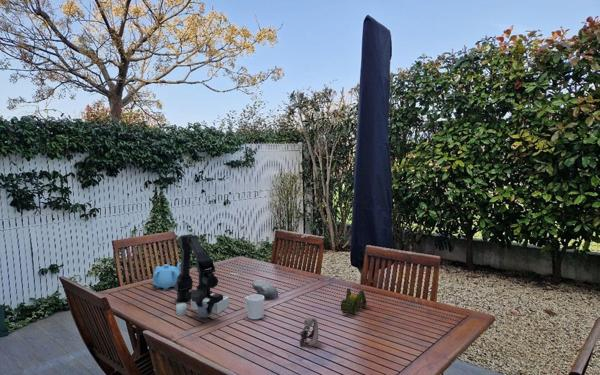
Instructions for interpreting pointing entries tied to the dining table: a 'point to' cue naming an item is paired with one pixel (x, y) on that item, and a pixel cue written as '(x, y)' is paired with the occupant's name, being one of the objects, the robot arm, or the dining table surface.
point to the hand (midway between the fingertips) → (204, 312)
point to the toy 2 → (353, 301)
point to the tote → (217, 306)
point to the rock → (265, 289)
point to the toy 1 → (314, 333)
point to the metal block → (203, 311)
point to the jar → (180, 309)
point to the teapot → (166, 276)
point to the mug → (255, 306)
